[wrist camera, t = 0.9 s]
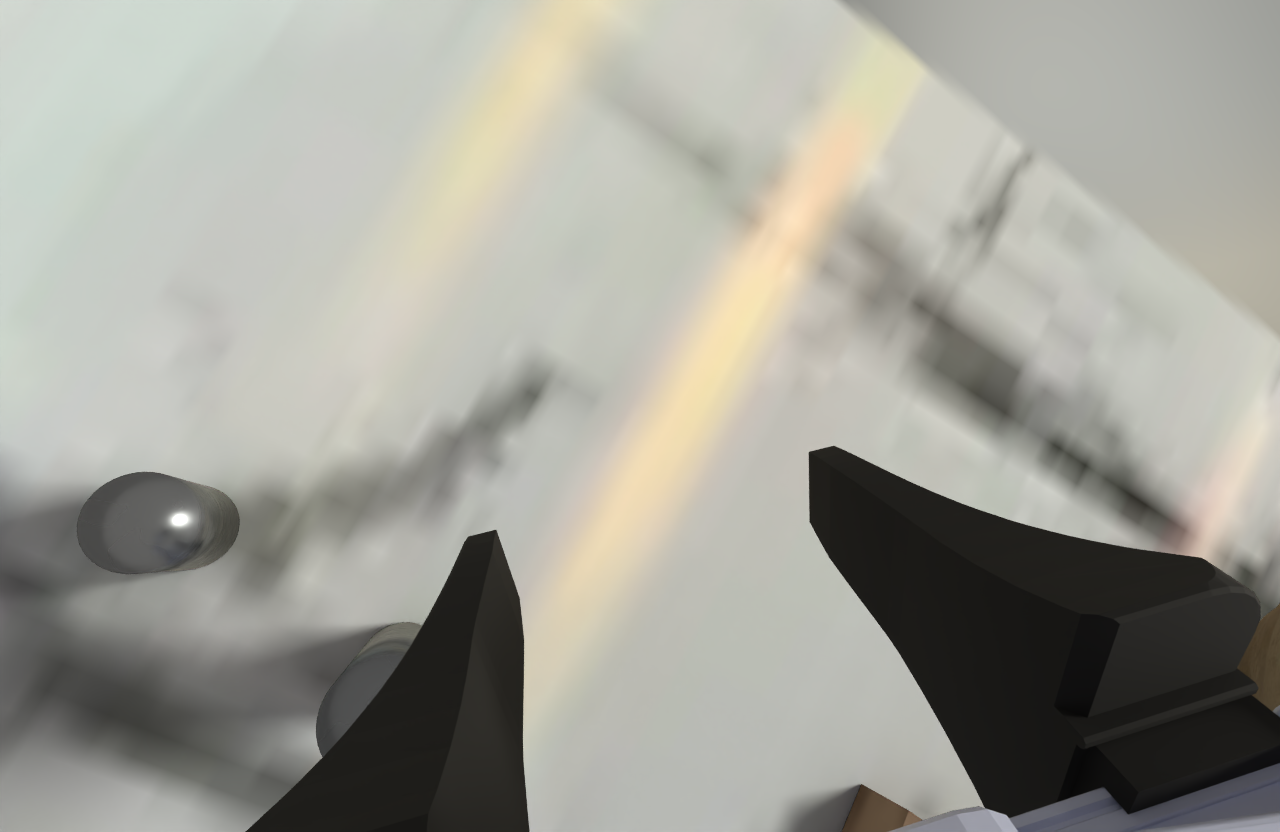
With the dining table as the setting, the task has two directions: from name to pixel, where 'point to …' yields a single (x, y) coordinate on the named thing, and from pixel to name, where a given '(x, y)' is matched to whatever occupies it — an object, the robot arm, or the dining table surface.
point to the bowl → (1265, 660)
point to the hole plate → (876, 813)
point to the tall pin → (362, 682)
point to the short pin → (156, 524)
